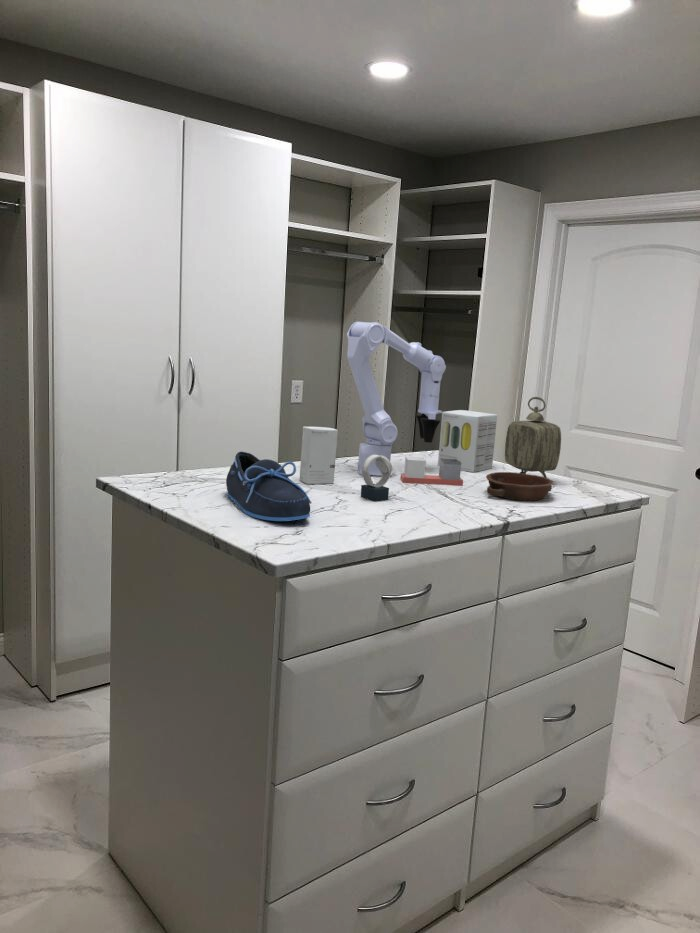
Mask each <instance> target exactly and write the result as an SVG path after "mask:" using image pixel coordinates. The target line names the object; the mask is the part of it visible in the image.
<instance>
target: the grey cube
mask: <svg viewBox="0 0 700 933" xmlns="http://www.w3.org/2000/svg"><path fill="white" fill-rule="evenodd" d="M438 471H439V472H438V476H440V477H441V479H446V480H460V478H461V472H462V470H461V462H460V461H459V460H458V459H440V466H439V470H438Z"/></svg>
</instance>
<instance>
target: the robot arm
mask: <svg viewBox="0 0 700 933" xmlns="http://www.w3.org/2000/svg"><path fill="white" fill-rule="evenodd" d="M346 337H347V343H348V344H347V353H346V355H347V361H348V364H349V369H350V371H351V373H352V376H353V380H354V383H355V386H356V387H355V388H356V390H357V393H358V396H359V400H360V402H361V405H362V408H363V411H364V414H365V415H364V416H363V417H362V419H361V421H362V424H363V425H362V426H363V427H362V432H363V433H362V434H363V436H364V438H366V439H365V440H366V441H365V442H360V443H359V446H358V448H359V449H358V461H357V465H356V466H357V471H358V474H359V475H360V476H363V475H362V467H363V464H364V462H365V460H366V459H367V458H368V457H369V456H371V455H379V456H380V455H382V456H385V457H386V458H387V459H388V460H389V461H390V462H391V459H392V458H391V457H392V446H393V443H394V442H395V441H396V439H397V437H398V434H399V432H398V428H397V426H396V425H395V423H394V422H393V421H392V418H391V416H390V415H389V413H387V412H386V410H385V409H384V406H383V403H382V399H381V396H380V393H379V390H378V386H377V384H376V380H375V377H374V375H373V371H372V366H371V365H370V361H369V358H370V356H371V355H372V354H373V353H374V352H375V350H376V349H378V347H379V346H380V345H381V344H384V345H387V346H388V347H390V348H393V349H394V350H396V351H398V352H400V353H402V357H403V359H404V360H405V361H406V362H407V363H410V364H411V365H413V366H415V367H416V368H418V370H419V373H421V376H420V377H421V379H420V381H421V382H420V391H419V403H418V404H419V405H418V409H417V412H418V413H419V414H416V415H415V417H416V419H417V423H418V429H419V436H420V439H423V441H424V443H429V444H431V443H432V442H433V439H434V436H435V433H436V429H437V428H438V427H439V426H438V425H439V424H441V420H440V419H436V417H437V416H436V415H438V414H442V412H443V411H442V410H439V403H440V402H439V401H440V391H441V390H440V388H441V381H442V379H443V374H444V373H445V372H446V368H447V365H446V363H445V360H444V358H443V357H442V356H440V355H436V354H435V355H434V354H433V351H432V350H429V349H426V348H424V347H423V346H422V343H421V342H418V341H416V342H415V341H413V342H408V341H406V340H405V339H403V337H401V336H399V335H398V334H396V333H395V332H393V331H392V330H390V329H389V328H388V327H387V326H385V325H382V324H381V323H379V322H376V321H375V322H366V321H365V322H364V321H355V322H353V323H352V324H351V325H350V326H349V329H348V331H347V333H346ZM375 461H376V459H374V460H373V461H372V463H371V464H370V466H369V473H370V476H380V477H382V475H383V474H381V472H380V470H379V469H378V468H377V466H376V464H375ZM392 476H393V473H392V472H391V476H390V477H392Z"/></svg>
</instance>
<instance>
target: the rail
mask: <svg viewBox="0 0 700 933" xmlns="http://www.w3.org/2000/svg"><path fill="white" fill-rule="evenodd" d="M404 457H405V460H404V472H403V473H400V481H401V482H402V483H404V484H421V485H422V484H423V485H424V484H425V485H443V486H444V485H446V486H462V487H463V485H464V480H463V479H462V478H461V477H460V480H446V479H441V477H440V476H439V475H429V474H426V465H427V461H426V459H424V457H417V456H416V457H415V456H404Z"/></svg>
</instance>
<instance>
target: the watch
mask: <svg viewBox="0 0 700 933" xmlns="http://www.w3.org/2000/svg"><path fill="white" fill-rule="evenodd" d="M374 459H376V461H375V464H376V466H377V468H378V469H379V470H380V472H381V474H383V475H382V476H380V477H381V478H380V479H379V480H378V482H376V483H374V482H373V480H372V477H371V476H372V475H370V473H369V466H370V464H371V463H372V461H373V460H374ZM392 472H393V465H392V462H391V460H390V461H389V460H388V459H387V458H386V457H385V456H382V455H380V456H379V455H371V456H369V457H368V458H367V459H366V460H365V462H364V464H363V467H362V475H361V476H362V478H363V481H364V483H365V484H361V489H360V498H362V499H365V500H367V501H371V502H375V503H377V502H385V501H389V492H390V487H387V486H385V485H386V484H387V483H388V481H389V479H390V477H392V476H391V473H392Z"/></svg>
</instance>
